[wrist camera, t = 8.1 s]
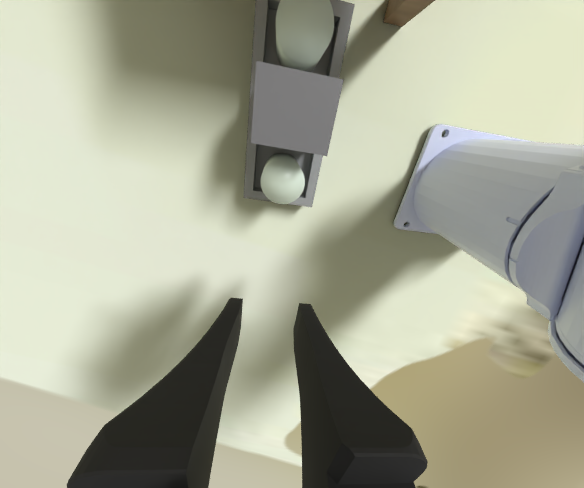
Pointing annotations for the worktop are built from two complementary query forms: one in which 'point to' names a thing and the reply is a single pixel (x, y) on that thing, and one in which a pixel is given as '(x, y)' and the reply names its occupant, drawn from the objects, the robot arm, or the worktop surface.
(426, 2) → the walnut shelf
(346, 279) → the worktop surface
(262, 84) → the grey plastic caddy
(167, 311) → the worktop surface
